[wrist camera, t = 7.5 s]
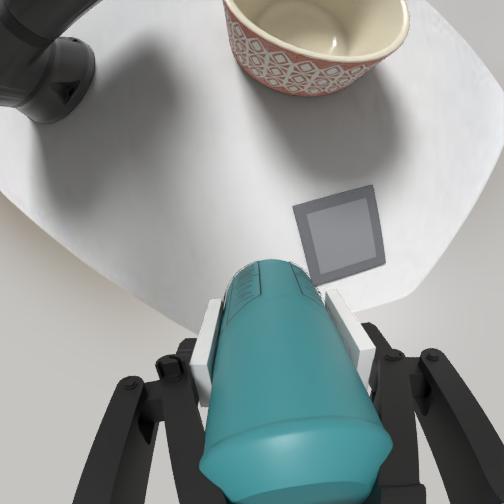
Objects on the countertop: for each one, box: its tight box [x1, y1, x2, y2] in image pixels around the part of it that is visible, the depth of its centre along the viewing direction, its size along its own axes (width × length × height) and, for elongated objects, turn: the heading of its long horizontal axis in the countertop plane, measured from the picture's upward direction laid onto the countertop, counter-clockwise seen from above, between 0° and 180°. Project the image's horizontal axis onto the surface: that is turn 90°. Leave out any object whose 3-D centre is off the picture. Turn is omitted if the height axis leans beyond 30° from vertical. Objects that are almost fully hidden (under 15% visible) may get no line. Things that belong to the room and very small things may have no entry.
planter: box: [223, 0, 410, 97], centre depth 23 cm, size 19×19×15 cm
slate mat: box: [292, 185, 386, 285], centre depth 38 cm, size 12×12×1 cm
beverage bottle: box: [199, 259, 393, 504], centre depth 11 cm, size 6×7×20 cm
